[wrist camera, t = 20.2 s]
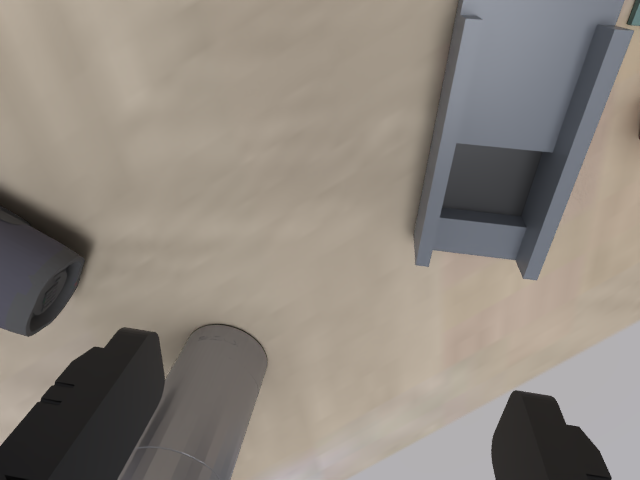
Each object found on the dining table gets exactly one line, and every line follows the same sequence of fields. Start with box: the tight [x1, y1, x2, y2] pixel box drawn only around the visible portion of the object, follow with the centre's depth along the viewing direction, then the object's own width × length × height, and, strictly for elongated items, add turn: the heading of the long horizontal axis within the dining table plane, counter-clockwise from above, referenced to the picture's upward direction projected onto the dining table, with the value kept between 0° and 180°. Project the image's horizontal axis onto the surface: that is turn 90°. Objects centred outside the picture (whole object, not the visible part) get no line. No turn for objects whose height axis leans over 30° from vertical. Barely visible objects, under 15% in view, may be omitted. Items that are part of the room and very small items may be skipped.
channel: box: [414, 0, 634, 280], centre depth 28 cm, size 28×9×4 cm, turn 177°
